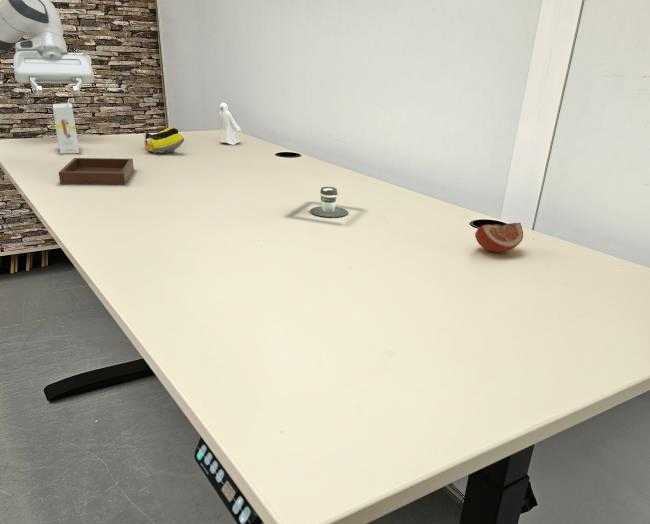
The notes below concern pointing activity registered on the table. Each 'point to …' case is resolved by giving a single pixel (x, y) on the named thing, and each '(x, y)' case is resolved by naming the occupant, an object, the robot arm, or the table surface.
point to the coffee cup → (328, 204)
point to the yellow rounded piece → (163, 140)
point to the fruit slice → (499, 236)
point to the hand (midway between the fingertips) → (58, 93)
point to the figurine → (228, 126)
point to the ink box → (65, 128)
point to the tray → (97, 171)
